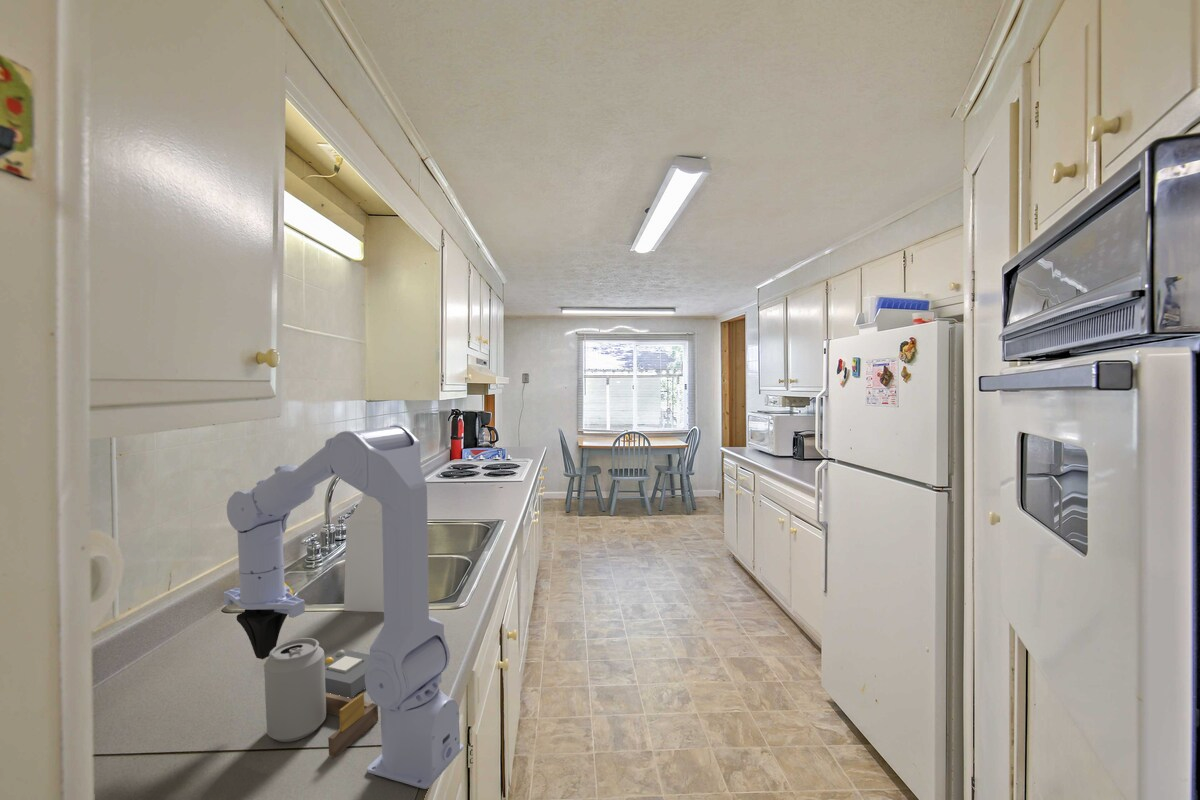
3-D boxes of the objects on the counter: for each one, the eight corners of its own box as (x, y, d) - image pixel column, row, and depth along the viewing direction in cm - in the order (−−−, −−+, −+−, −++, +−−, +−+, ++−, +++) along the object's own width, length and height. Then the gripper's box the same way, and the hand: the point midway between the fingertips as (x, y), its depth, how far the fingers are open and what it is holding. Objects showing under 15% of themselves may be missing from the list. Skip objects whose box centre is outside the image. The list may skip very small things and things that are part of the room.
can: (313, 705, 83) (310, 629, 82) (335, 725, 78) (332, 644, 78) (258, 731, 77) (255, 649, 77) (279, 753, 72) (275, 666, 72)
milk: (419, 591, 127) (416, 481, 126) (396, 612, 116) (393, 492, 115) (371, 589, 128) (367, 481, 127) (343, 610, 117) (339, 492, 116)
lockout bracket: (378, 720, 79) (377, 684, 79) (334, 757, 72) (333, 717, 71) (325, 707, 82) (324, 672, 82) (278, 741, 75) (277, 702, 75)
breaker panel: (387, 672, 92) (386, 654, 92) (351, 699, 85) (350, 679, 84) (341, 662, 96) (340, 645, 95) (303, 687, 88) (302, 668, 88)
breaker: (362, 672, 91) (362, 659, 91) (345, 683, 88) (345, 670, 88) (345, 668, 92) (345, 655, 92) (328, 679, 89) (328, 666, 89)
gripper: (320, 563, 82) (323, 650, 83) (252, 554, 87) (256, 635, 88) (278, 580, 76) (282, 674, 76) (208, 568, 81) (212, 657, 81)
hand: (265, 655), depth 82 cm, fingers closed
